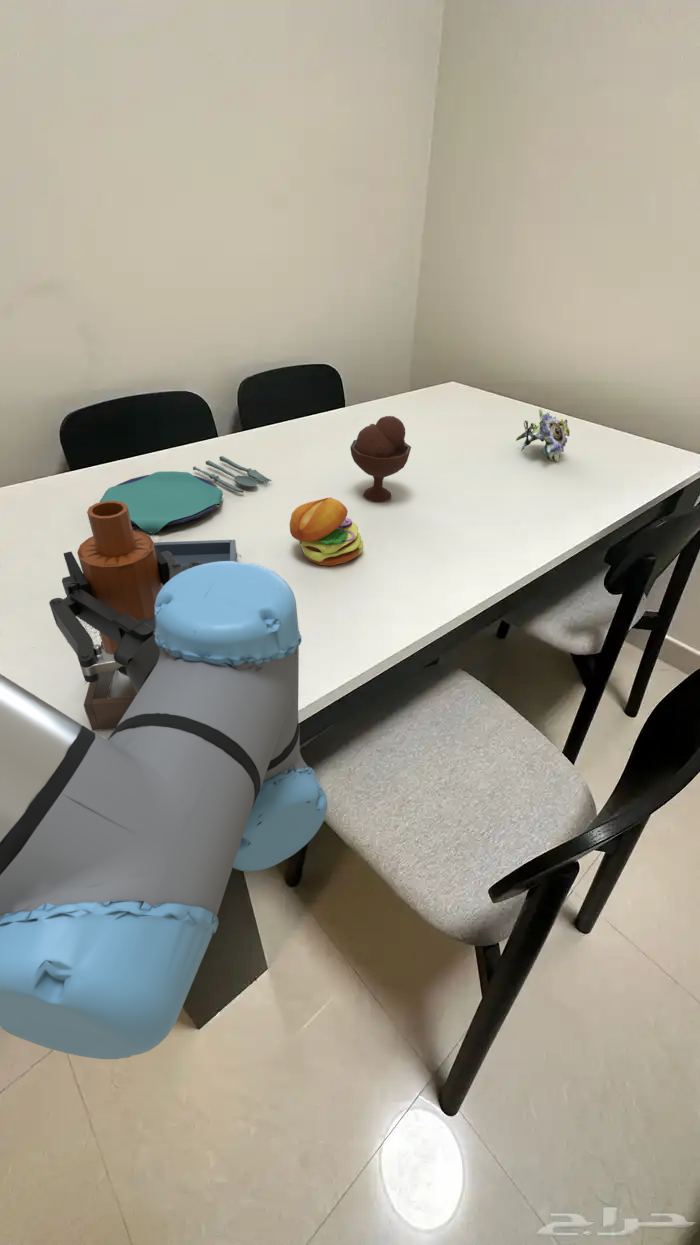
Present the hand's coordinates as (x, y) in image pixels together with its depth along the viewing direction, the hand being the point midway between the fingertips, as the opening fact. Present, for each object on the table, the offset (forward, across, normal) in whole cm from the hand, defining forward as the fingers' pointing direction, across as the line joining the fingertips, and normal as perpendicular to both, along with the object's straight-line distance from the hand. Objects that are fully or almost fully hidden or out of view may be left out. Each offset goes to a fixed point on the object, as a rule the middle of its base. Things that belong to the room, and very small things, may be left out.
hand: (108, 554), depth 61 cm
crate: (-5, 0, -16) cm, 17 cm away
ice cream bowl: (+24, +53, -16) cm, 60 cm away
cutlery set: (+40, +22, -16) cm, 48 cm away
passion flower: (+24, +97, -16) cm, 101 cm away
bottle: (-5, 0, -10) cm, 11 cm away
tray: (+15, +9, -16) cm, 23 cm away
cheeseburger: (+11, +34, -16) cm, 39 cm away
